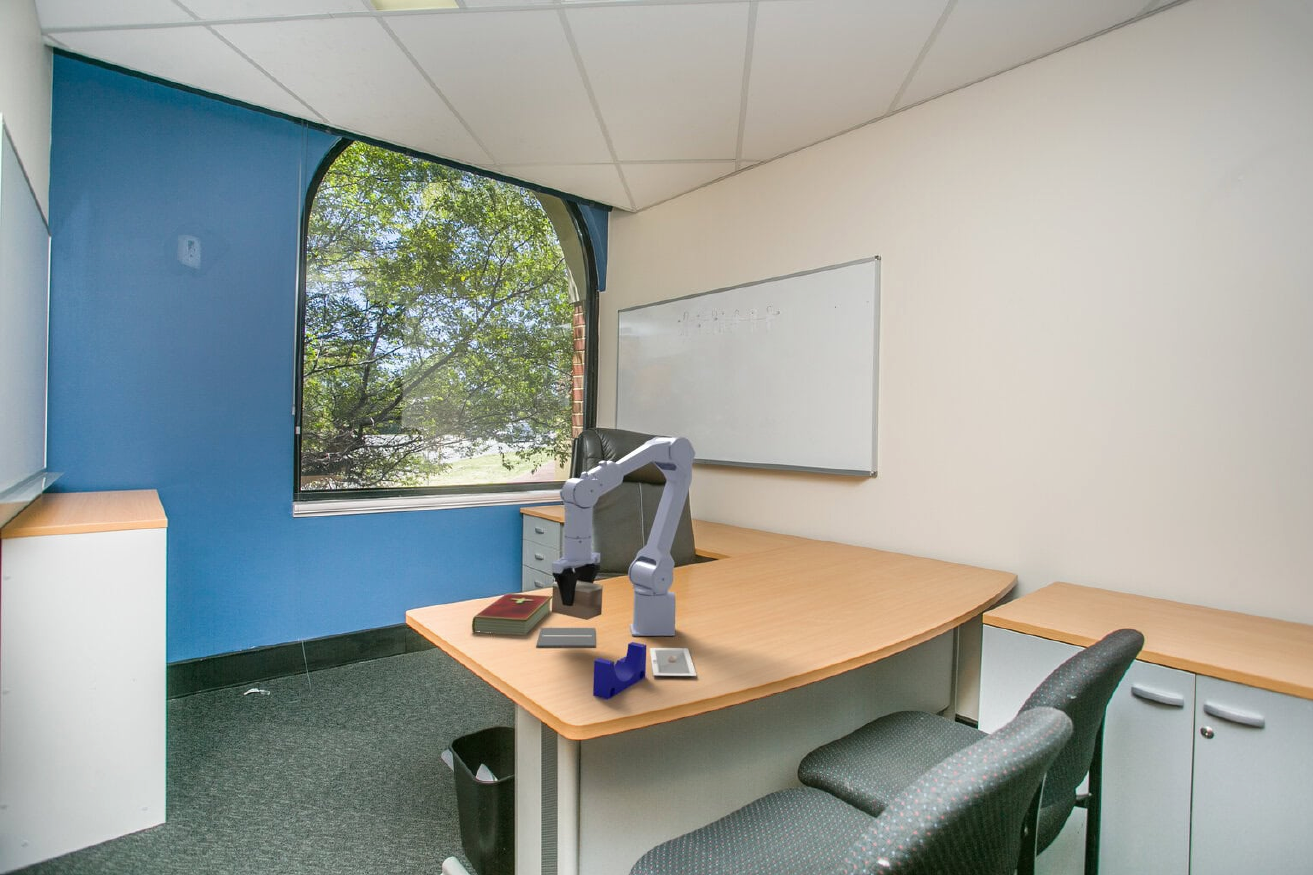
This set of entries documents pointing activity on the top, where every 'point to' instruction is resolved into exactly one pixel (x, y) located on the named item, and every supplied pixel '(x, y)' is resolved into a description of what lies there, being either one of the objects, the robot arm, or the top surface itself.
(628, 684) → the blue cradle bracket
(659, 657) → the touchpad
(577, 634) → the mat
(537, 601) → the hardcover book
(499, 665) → the top surface
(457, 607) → the top surface
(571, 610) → the card box
